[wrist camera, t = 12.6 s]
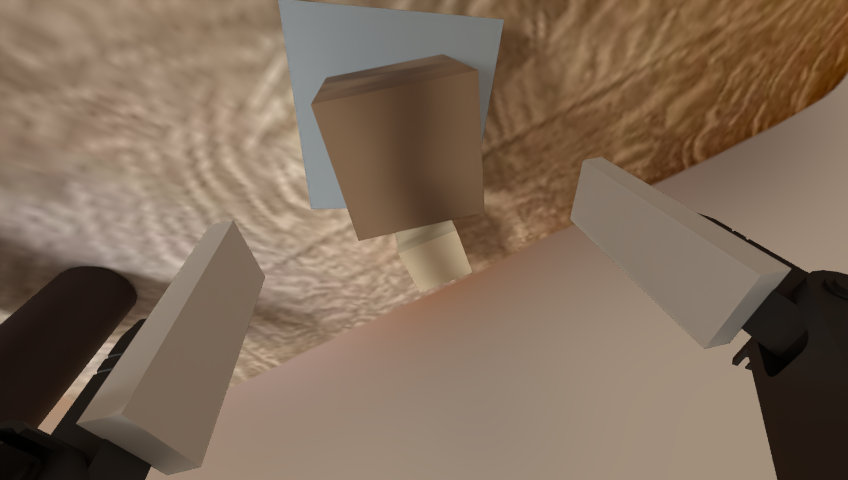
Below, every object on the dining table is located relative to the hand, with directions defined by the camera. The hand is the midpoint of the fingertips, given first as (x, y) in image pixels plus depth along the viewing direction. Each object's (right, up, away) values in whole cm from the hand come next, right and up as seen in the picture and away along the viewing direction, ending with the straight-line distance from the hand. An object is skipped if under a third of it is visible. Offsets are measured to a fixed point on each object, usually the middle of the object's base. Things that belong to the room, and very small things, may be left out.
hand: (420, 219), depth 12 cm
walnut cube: (-2, +8, +11) cm, 14 cm away
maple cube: (0, 0, +24) cm, 24 cm away
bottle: (-35, -6, +22) cm, 41 cm away
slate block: (-3, +11, +16) cm, 20 cm away
